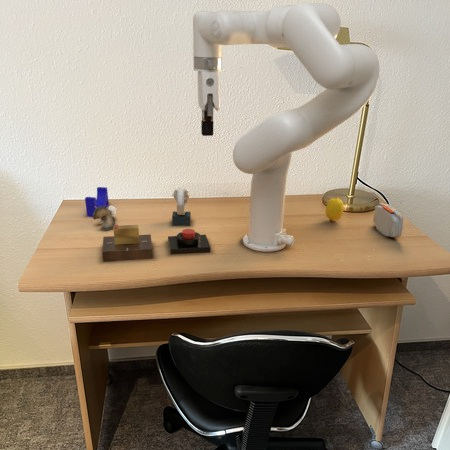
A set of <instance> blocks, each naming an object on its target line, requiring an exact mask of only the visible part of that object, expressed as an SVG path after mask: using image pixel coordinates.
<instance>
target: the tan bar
mask: <svg viewBox="0 0 450 450" xmlns="http://www.w3.org/2000/svg"><path fill="white" fill-rule="evenodd" d="M139 231H140V230H139V224H126V225H125V224H124V225H123V224H122V225H119V224H115V225H114V228H113V236H114V240H115V245H117V244H139V235H140V232H139Z"/></svg>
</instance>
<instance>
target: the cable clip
mask: <svg viewBox="0 0 450 450" xmlns="http://www.w3.org/2000/svg"><path fill="white" fill-rule="evenodd" d="M84 202H85V209H86V217H90V218H93V213H94V210H95V209H96V208H95V207H94V206H96V207H99V206H100V207H102V206H103V207H104V206H105V207H106V209H107V208H108V207H109V206H110V204H109V202H110V201H109V194H108V187H107V186H106V187H104V186H98V187H96V197H95V196H86V197H85V198H84Z"/></svg>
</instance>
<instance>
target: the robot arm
mask: <svg viewBox="0 0 450 450" xmlns="http://www.w3.org/2000/svg"><path fill="white" fill-rule="evenodd" d="M341 25H342V23H341V16H340V14H339V12H338V11H337V9H336V8H335V7H333V6H332V5H330V4H328V3H323V2H322V3H318V2H300V3H297V4H287V5H284V4H283V5H275V6H273V7H271V9H269V10H249V11H248V10H217V11H208V10H199V11H196V12H195V13H194V14H193V18H192V34H193V35H192V36H193V37H192V40H193V42H192V43H193V44H192V45H193V47H192V48H193V49H192V50H193V51H192V52H193V53H192V54H193V56H192V57H193V71H195V72H197V104H198V107H199V108H200V109H201V121H200V124H201V126H200V127H201V129H200V130H201V135H202V137H208V136H209V137H213V136H214V110H215V111H217V112H218V111H220V110H221V109H220V108H221V107H220V105H221V103H220V77H219V76H220V75H219V72H222V62H223V61H222V57H223V46H234V45H270V46H272V47H273V48H290V50H291V52H292V53H293V54H294V55H295V57H296V58H297V59H298V60H299V62H300V63H301V65H302V66H303V67H304V68H305V70H306V71H307V72H308V74H309V75H310V76H311V78H312V79H313V80H314V81H315V82H316V83H317V84H318V85H319V86H321V87H322V88H324V90H323V91H321V92H320V93H318V94H317V95H316V96H314V97H313V98H311V99H310V100H309V101H307V102H305V103H304V104H303V105H301V106H299V107H295V108H292V109H287V110H283V111H278V112H275V113H273V114H271V115H269V116H267V117H266V118H265V119H263V120H261V122H259V123H258V124H256V125H255V126H253V128H251V129H250V130H248V131H246V132H245V134H243V135H242V136H241V137H240V138H238V140H237V141H236V143H235V145H234V146H233V150H232V161H233V163H234V165H235V167H236V168H237V169H238V170H239V171H240V172H242V173H244V174H249V175H251V181H250V195H249V219H248V233H246V234H245V235H244V236H243V238H242V244H243V245H244V247H247V248H248V249H250V250H253V251H257V252H264V253H265V252H267V253H268V252H270V253H271V252H277V251H281V250H282V249H284V248H286V246H287V245H288V246H291V247H292V246H294V245H295V237H294V235H289V234H287V233H286V228H283V223H284V215H285V214H284V211H285V203H286V202H285V201H286V192H287V191H286V190H287V181H288V173H289V168H290V165H291V161H292V156H293V153H294V152H296V151H299V150H303V149H305V148H307V147H309V146H310V145H312V144H313V143H314V142H316V141H318V140H319V139H320V138H322V137H323V136H325V135H327V134H328V133H329V132H331V131H333V130H334V129H335V128H337V127H338V126H340V125H342V124H343V123H344V122H346V121H347V120H349V119H351V118H352V117H353V116H354V115H356V114H357V113H358V112H359V111H360V110H362V108H363V107H364V106H365V105H366V104H368V102H369V100H370V99H371V97H372V96H373V94H374V92H375V90H376V87H377V86H378V82H379V78H380V60H379V58H378V55H377V53H376V52H375V51H374V49H372V48H371V47H369V46H368V45H364V44H362V43H346V44H340V43H339V42H338V40H337V39H336V38H337V37H338V35H339V33H340V30H341Z"/></svg>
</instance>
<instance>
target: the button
mask: <svg viewBox="0 0 450 450" xmlns="http://www.w3.org/2000/svg"><path fill="white" fill-rule="evenodd" d="M181 232H182V237H183V238H186V239H192V238H195V232H196V230H195V229H193V228H184V229H182V230H181Z"/></svg>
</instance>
